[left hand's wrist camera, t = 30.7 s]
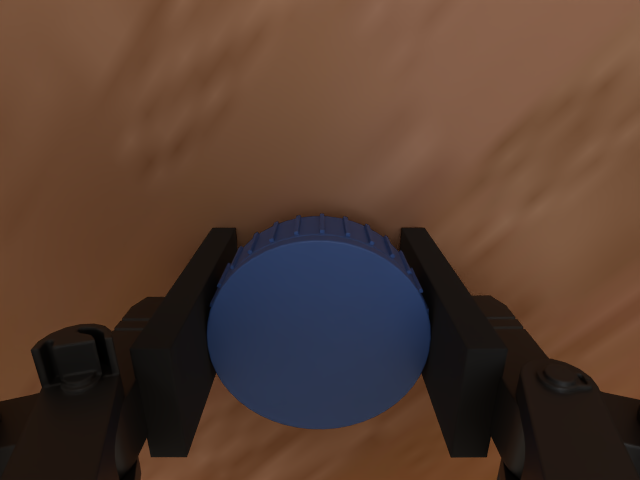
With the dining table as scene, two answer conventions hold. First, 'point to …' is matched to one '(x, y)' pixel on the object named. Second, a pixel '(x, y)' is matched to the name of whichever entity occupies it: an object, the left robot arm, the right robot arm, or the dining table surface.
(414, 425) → the dining table surface
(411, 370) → the lid
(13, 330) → the dining table surface
